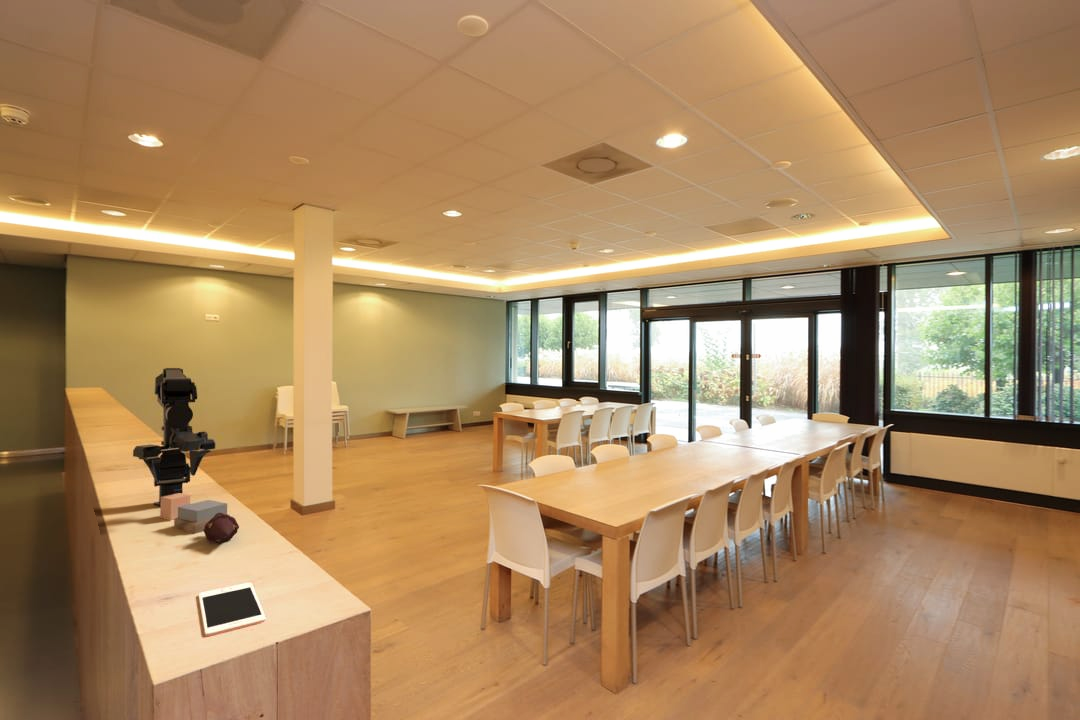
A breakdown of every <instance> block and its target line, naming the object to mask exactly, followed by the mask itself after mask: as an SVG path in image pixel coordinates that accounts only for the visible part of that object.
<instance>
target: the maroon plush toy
mask: <svg viewBox="0 0 1080 720" xmlns="http://www.w3.org/2000/svg"><path fill="white" fill-rule="evenodd" d="M227 514H228V513H227ZM227 514H223V513H217V514H216V515H215V516H214V517H213V518H212V519H210V521H209V522H208V523H207V524H206V525H205V528H204V531H203V533H204V535H205V536H204V537H205V539H206V541H209V542H210V543H214V544H217V545H218V544H223V543H227V542H230V541H231V539H233V537H234V536H235V535H237V533H238V530H239V529H240V525H239V524H238V521H237V519H236V518H235V517H234V516H231V515H230V514H228V515H227ZM229 515H230V516H229Z"/></svg>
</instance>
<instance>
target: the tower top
mask: <svg viewBox="0 0 1080 720" xmlns="http://www.w3.org/2000/svg"><path fill="white" fill-rule="evenodd" d="M217 513H223V514H228V503H226V502H223V501H216V500H212V499H206V500H201V501H198V502H193V503H190V504H188V505H184V506H180V507H178V518H179V519H183V520H187V521H192V522H196V523H198V522H201V521H205V520H209V519H212V518H213V517H214V516H215V515H216V514H217Z"/></svg>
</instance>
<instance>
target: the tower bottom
mask: <svg viewBox="0 0 1080 720" xmlns="http://www.w3.org/2000/svg"><path fill="white" fill-rule="evenodd" d="M227 515H229V516H231V515H230V514H229V513H227ZM173 521H174V523H173V524H174V525H173V529H175V528H176V530H179V529H180V531H183V530H184V532H187V533H191V534H198V533H202V532H203V533H204V528H205V525H206V524H207V523H208V522H209V521H210V519H209V520H205V521H201V522H198V523H196V522H192V521H187V520H183V519H179V518H175V519H174V520H173Z"/></svg>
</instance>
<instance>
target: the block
mask: <svg viewBox="0 0 1080 720" xmlns="http://www.w3.org/2000/svg"><path fill="white" fill-rule="evenodd" d="M188 504H191V495H190V494H186V493H183V494H182V493H177V494H172V495H167V496H163V497H161V506H159V507H160V510H159V511H160V514H159V516H160V517H161V518H165V519H167V520H166V521H169V520H173V521H174V519H175V518H178V507H180V506H184V505H188ZM160 517H159V518H160ZM161 518H160V519H161ZM165 519H164V520H165Z"/></svg>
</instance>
